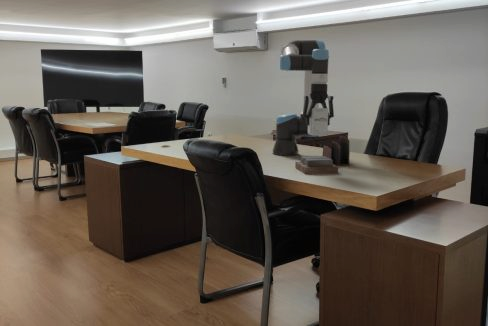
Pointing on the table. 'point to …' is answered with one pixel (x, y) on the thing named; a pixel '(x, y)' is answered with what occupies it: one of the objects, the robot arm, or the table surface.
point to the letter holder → (338, 152)
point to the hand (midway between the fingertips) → (317, 132)
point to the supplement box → (319, 121)
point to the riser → (316, 165)
